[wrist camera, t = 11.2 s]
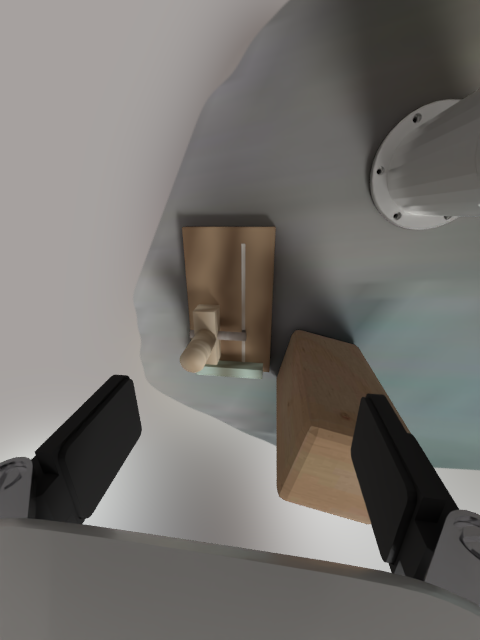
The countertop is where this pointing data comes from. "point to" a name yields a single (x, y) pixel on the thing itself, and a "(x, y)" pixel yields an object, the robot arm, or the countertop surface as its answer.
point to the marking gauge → (206, 339)
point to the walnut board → (234, 292)
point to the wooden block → (321, 423)
